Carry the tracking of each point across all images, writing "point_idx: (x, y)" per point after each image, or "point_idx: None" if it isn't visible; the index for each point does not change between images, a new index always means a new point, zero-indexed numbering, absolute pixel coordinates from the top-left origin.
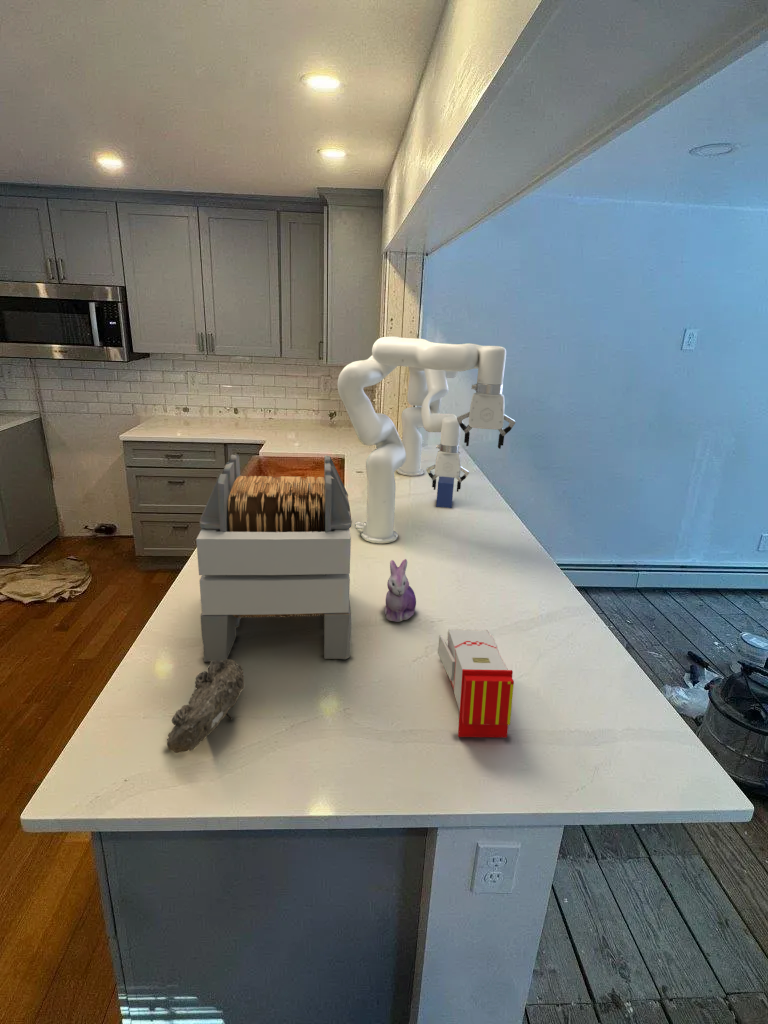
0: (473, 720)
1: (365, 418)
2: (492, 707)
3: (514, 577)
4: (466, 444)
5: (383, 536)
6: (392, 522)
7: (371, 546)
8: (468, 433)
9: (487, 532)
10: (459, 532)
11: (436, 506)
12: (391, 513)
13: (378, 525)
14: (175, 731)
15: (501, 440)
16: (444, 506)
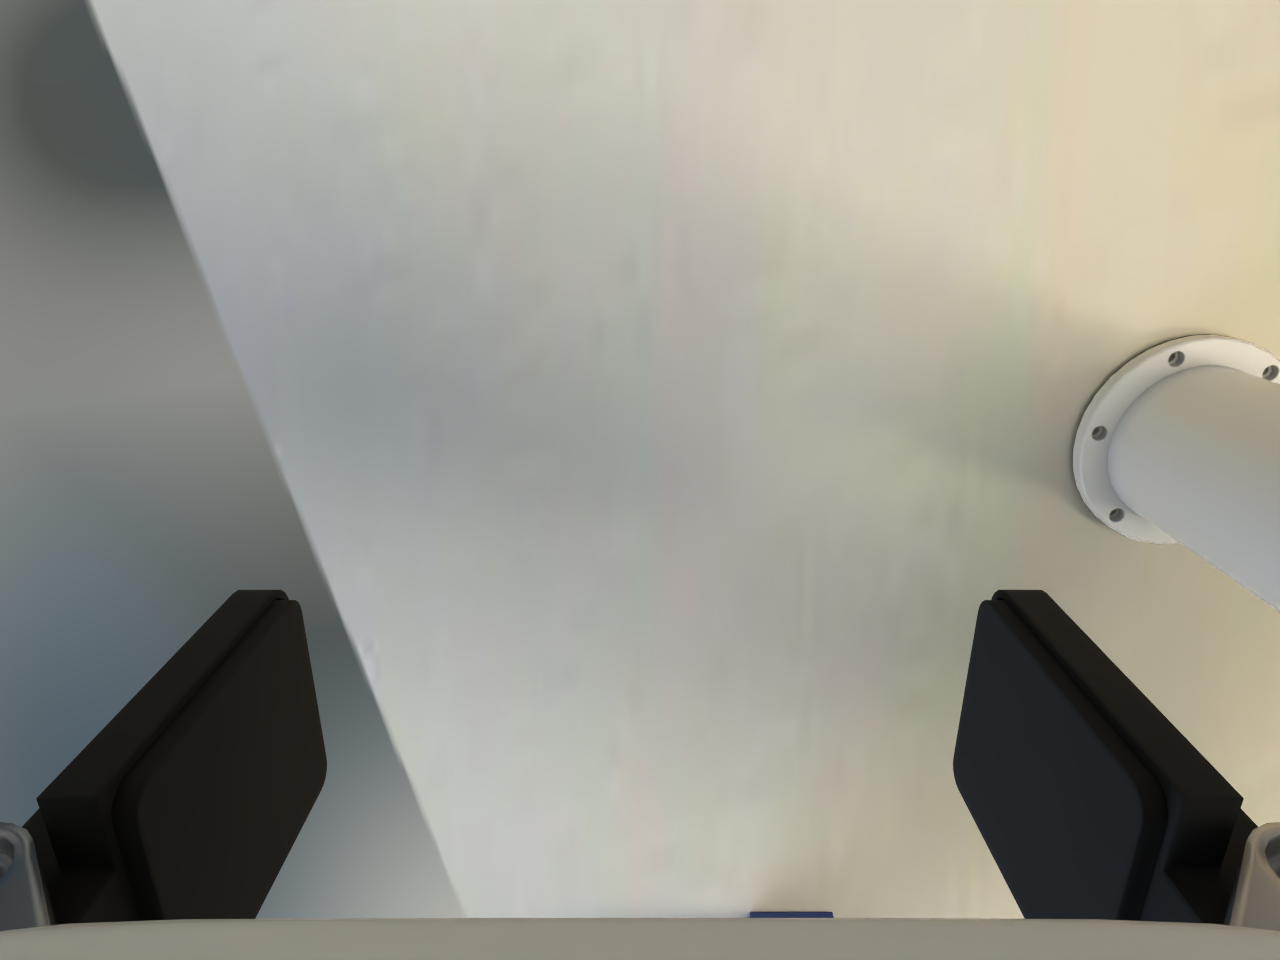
0: None
1: None
2: None
3: (382, 31)
4: (1050, 600)
5: (1184, 377)
6: (1175, 449)
7: (1238, 287)
8: (1204, 796)
9: (554, 645)
10: (709, 609)
11: (830, 913)
12: (1233, 457)
13: (1271, 387)
14: None
15: (134, 702)
16: (788, 916)
